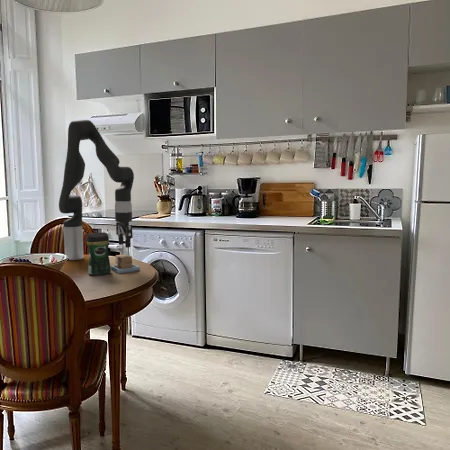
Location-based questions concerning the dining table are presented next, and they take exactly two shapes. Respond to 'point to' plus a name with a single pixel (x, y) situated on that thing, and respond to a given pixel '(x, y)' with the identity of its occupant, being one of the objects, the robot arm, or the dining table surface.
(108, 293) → the dining table surface
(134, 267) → the blue grey tray
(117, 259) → the terracotta cube
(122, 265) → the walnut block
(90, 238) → the coffee jar
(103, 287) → the dining table surface
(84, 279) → the dining table surface
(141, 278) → the dining table surface
